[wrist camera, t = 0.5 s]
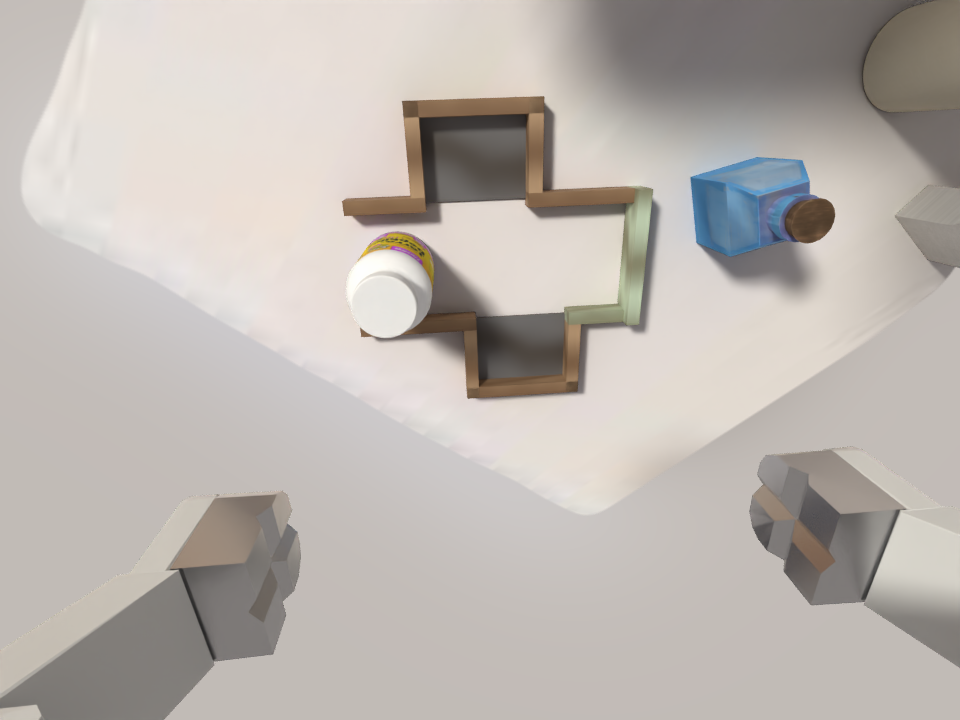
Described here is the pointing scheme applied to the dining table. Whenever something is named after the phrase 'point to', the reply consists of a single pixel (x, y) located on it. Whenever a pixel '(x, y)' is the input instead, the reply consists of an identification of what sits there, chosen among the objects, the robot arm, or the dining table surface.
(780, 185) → the perfume bottle
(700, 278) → the dining table surface
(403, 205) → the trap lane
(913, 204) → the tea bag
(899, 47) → the travel mug
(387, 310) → the supplement bottle
